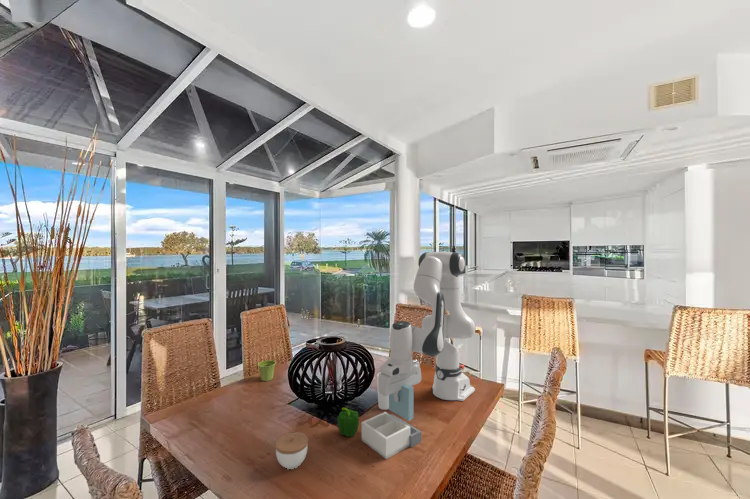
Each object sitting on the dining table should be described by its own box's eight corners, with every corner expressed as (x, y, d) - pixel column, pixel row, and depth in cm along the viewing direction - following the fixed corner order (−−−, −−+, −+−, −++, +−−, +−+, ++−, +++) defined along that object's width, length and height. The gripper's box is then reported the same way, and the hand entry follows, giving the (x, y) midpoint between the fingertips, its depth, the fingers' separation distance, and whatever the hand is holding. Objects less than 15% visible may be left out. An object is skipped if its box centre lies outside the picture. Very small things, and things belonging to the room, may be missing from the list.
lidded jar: (279, 453, 117) (279, 428, 117) (309, 452, 118) (309, 426, 117) (272, 475, 106) (272, 446, 106) (306, 473, 107) (305, 445, 107)
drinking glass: (390, 412, 145) (390, 378, 145) (375, 410, 147) (375, 377, 146) (392, 404, 152) (392, 372, 152) (378, 403, 153) (378, 371, 153)
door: (393, 407, 133) (393, 378, 133) (413, 418, 125) (413, 387, 124) (388, 409, 131) (388, 379, 131) (408, 421, 123) (408, 389, 123)
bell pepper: (363, 431, 131) (363, 406, 131) (351, 442, 124) (351, 415, 124) (346, 425, 135) (346, 401, 135) (333, 435, 128) (333, 410, 128)
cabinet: (392, 423, 136) (392, 406, 136) (421, 441, 124) (421, 423, 124) (359, 439, 126) (359, 421, 125) (388, 460, 113) (388, 440, 113)
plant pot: (255, 378, 180) (254, 363, 180) (271, 374, 187) (271, 358, 186) (262, 384, 173) (262, 368, 173) (279, 379, 180) (278, 363, 179)
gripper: (413, 356, 137) (413, 389, 137) (375, 368, 124) (375, 404, 124) (425, 360, 132) (424, 394, 132) (387, 373, 119) (387, 411, 119)
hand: (400, 399), depth 128 cm, fingers closed on door, 3 cm apart
